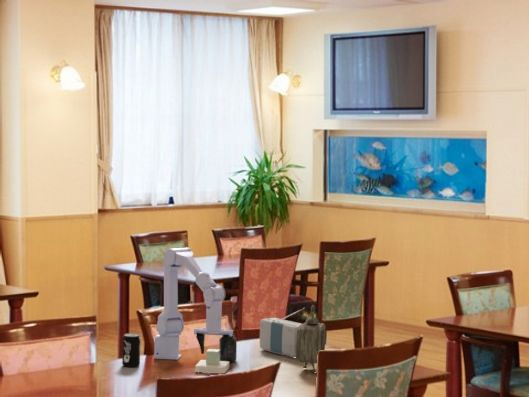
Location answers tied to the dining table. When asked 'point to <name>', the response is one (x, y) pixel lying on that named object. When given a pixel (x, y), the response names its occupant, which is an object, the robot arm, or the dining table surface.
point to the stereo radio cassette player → (279, 335)
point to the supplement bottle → (229, 349)
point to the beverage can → (131, 350)
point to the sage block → (213, 356)
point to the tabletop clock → (310, 340)
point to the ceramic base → (212, 367)
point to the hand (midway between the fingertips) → (212, 354)
